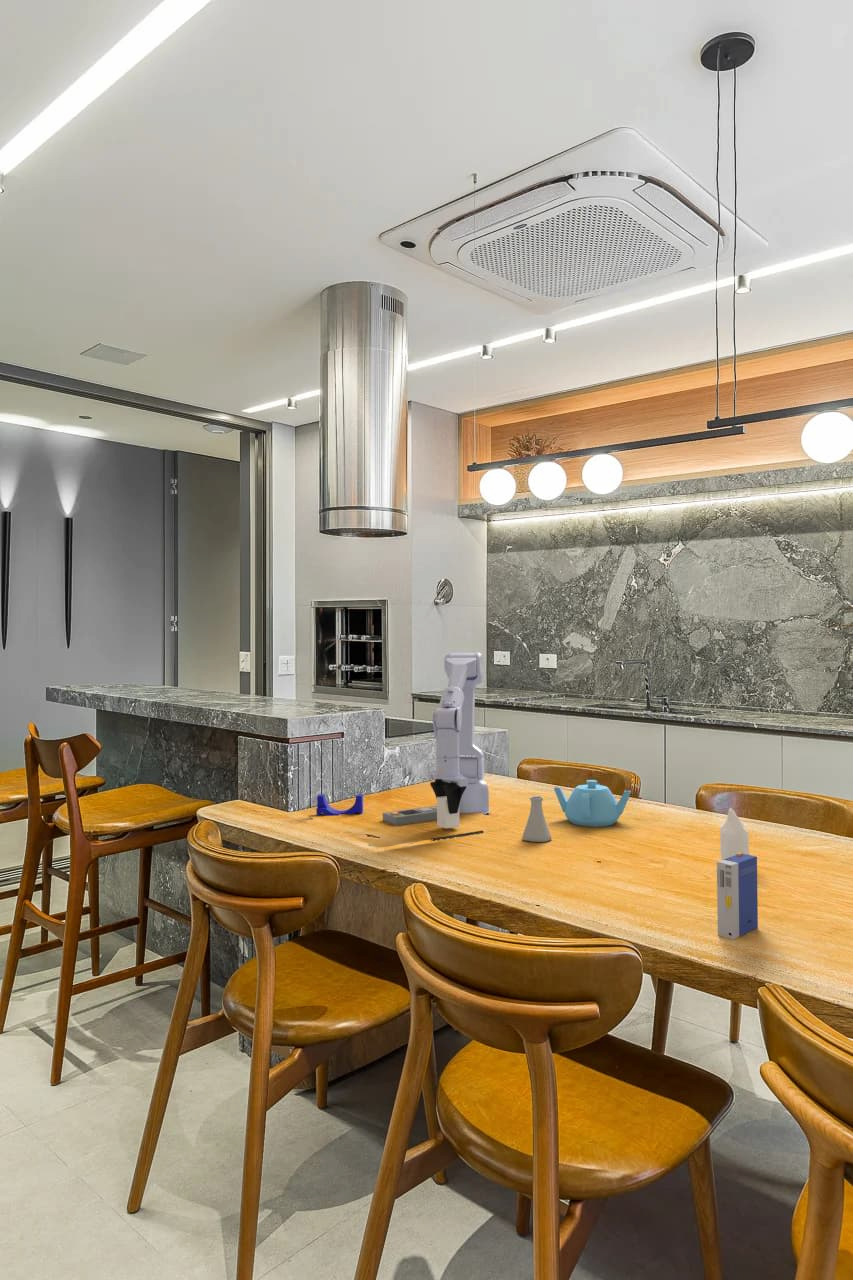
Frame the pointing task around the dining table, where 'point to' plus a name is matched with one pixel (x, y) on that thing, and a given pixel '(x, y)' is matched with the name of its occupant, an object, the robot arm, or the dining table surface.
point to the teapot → (592, 805)
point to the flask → (536, 823)
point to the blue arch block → (327, 810)
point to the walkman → (737, 895)
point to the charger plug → (446, 814)
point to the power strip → (411, 815)
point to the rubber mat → (459, 835)
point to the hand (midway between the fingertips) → (448, 811)
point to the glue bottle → (733, 837)
